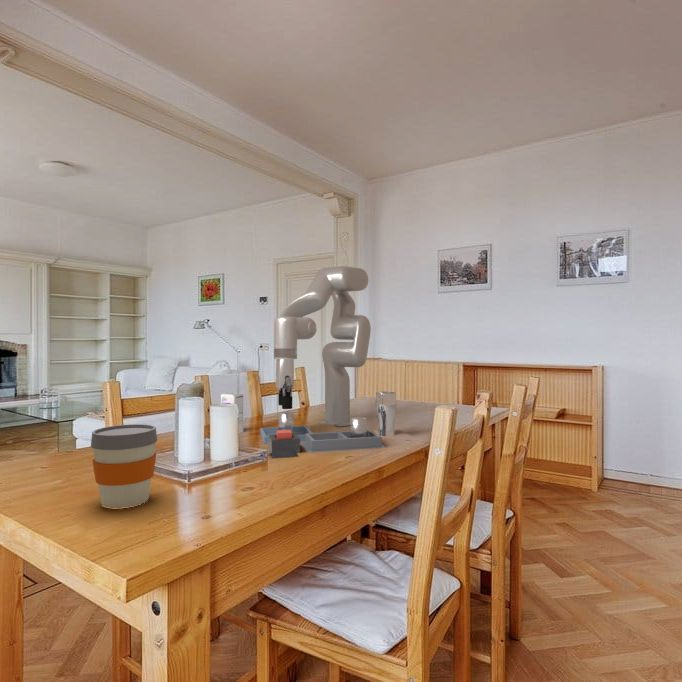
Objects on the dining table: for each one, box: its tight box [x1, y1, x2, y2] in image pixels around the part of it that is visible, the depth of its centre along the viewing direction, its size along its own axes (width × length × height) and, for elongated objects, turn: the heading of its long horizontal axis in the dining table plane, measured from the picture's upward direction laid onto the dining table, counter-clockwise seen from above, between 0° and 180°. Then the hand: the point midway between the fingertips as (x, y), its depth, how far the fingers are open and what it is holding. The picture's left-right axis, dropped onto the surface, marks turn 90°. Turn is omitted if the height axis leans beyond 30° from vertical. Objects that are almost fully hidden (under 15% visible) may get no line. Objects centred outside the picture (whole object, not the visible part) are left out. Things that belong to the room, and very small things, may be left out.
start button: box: [276, 430, 292, 439], centre depth 140 cm, size 4×4×3 cm
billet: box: [278, 411, 295, 433], centre depth 159 cm, size 5×5×8 cm
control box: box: [268, 433, 301, 459], centre depth 140 cm, size 8×8×5 cm
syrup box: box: [220, 392, 244, 435], centre depth 166 cm, size 6×6×14 cm
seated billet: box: [349, 416, 368, 438], centre depth 148 cm, size 5×5×8 cm
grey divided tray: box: [300, 429, 388, 454], centre depth 147 cm, size 13×24×4 cm, turn 104°
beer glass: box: [375, 390, 397, 437], centre depth 163 cm, size 7×7×15 cm
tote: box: [259, 425, 313, 445], centre depth 159 cm, size 16×16×3 cm
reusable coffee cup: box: [90, 423, 158, 508], centre depth 100 cm, size 13×13×15 cm
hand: (285, 407), depth 158 cm, fingers open, 9 cm apart
